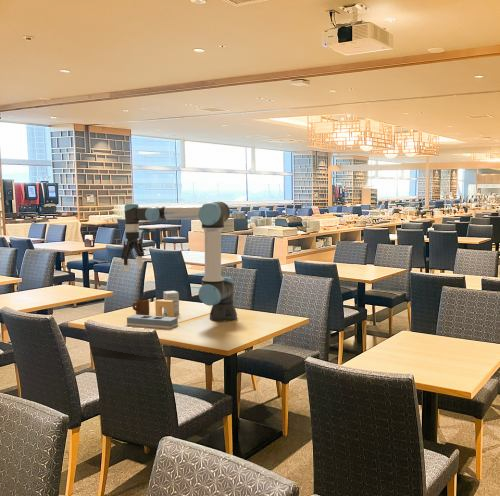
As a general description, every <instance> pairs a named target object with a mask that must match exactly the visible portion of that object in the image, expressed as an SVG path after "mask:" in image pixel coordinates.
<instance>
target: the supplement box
mask: <svg viewBox="0 0 500 496" xmlns="http://www.w3.org/2000/svg"><path fill="white" fill-rule="evenodd" d="M179 296H180V293H179V292H178V291H176V290H166V291H163V295H162V297H163V299H162V300H171V301H174V315H179V314H180V297H179ZM163 314H166V315H167V316H168V308H164V307H163Z"/></svg>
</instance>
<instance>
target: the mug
mask: <svg viewBox="0 0 500 496" xmlns="http://www.w3.org/2000/svg"><path fill="white" fill-rule="evenodd" d="M149 299H150V298H137V299H135V301H133V303H132V306H131V307H132V309H133V311H135V315H149V316H150V300H149Z"/></svg>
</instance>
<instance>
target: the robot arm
mask: <svg viewBox="0 0 500 496" xmlns="http://www.w3.org/2000/svg"><path fill="white" fill-rule="evenodd" d="M230 216H231V210H230V207H229V205H228V204H227V203H225V202H223V201H209V202H205V203H203V204H202V205H171V206H170V205H168V206H167V205H165V206H163V205H160V206H143V207H139V204H138V203H126V204H125V205H124V225H125V226H124V228H125V229H124V231H125V234H124V235H125V239H126V240H124V241H123V248H122V252H121V257H120V258H121V260H123V266H124V267H123V270H124V272H130V259H129V257H130V255H131V252H132V250H133V249H134V251H135V253H136V255H137V256H136V257H137V258H136V262H137V263H136V265H137V269H142V268H143V257H145V252H144V248H143V245H142V240H141V238H140V232H139V231H140V221H141V222H155V221H160V220H161V221H163V220H164V221H168V220H199V221H200V223H201V229H202V230H203V231H204V276H203V277H202V278H201V286H200V288H199V289H198V298H199V300H200V301H201V303H202V304H204V305H206V306H209V307H210V306H211V308H210V309H211V310H210V313H209V320H211V321H215V322H230V321H234V320H236V319H238V312H237V311H236V307H235V304H234V299H235V297H234V295H235V293H234V292H235V291H234V290H235V287H234V285H235V283H234V279H233V278H232V277H228V276H227V277H226V276H225V277H224V276H222V231H223V230H224V229H225V222H227V221H228V220H229V218H230Z"/></svg>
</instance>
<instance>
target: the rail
mask: <svg viewBox="0 0 500 496" xmlns="http://www.w3.org/2000/svg"><path fill="white" fill-rule="evenodd" d="M178 320H179V319H178V317H175V316H174V317H168V316H163V315H162V316H156V315H150V314H149V315H136V314H133V315H130V316H128V317H126V325H127V326H132V327H133V326H134V327H135V326H136V327H146V326H148V327H149V328H158V327H159V329H161V328H162V329H173V328H175V327H177V326H178V325H179V322H178ZM148 327H147V328H148Z"/></svg>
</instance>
